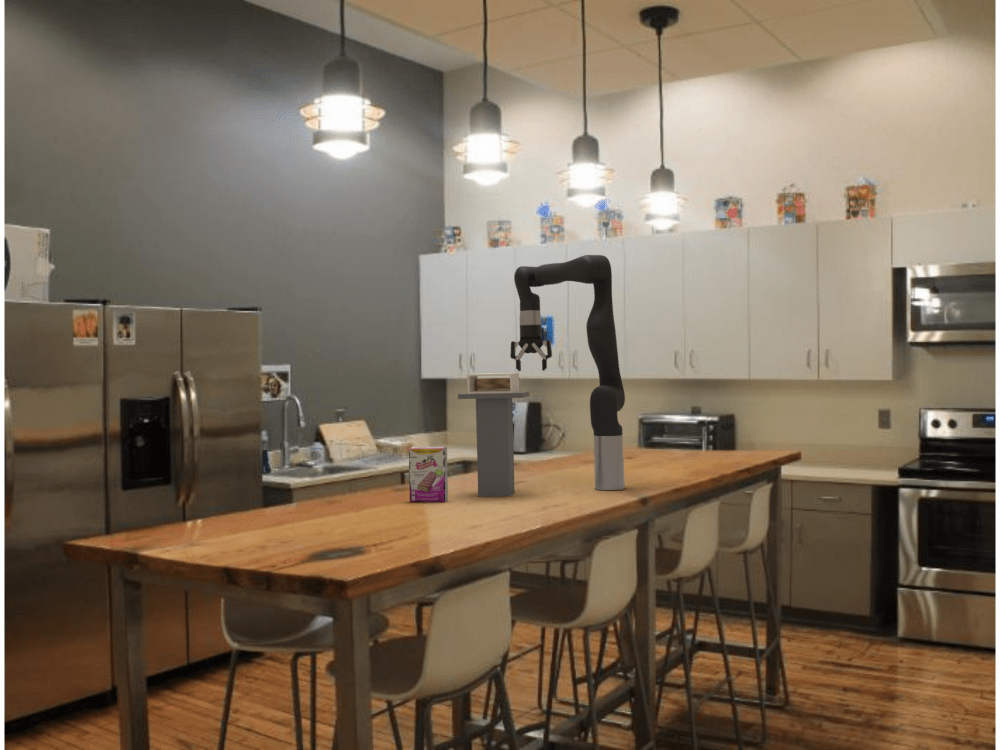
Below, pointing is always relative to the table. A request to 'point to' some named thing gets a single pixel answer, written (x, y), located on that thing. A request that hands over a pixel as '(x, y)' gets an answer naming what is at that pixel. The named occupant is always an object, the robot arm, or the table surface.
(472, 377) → the sleeve
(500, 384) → the mailer tray
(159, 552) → the table surface
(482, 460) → the charcoal pedestal
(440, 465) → the candy bar box
